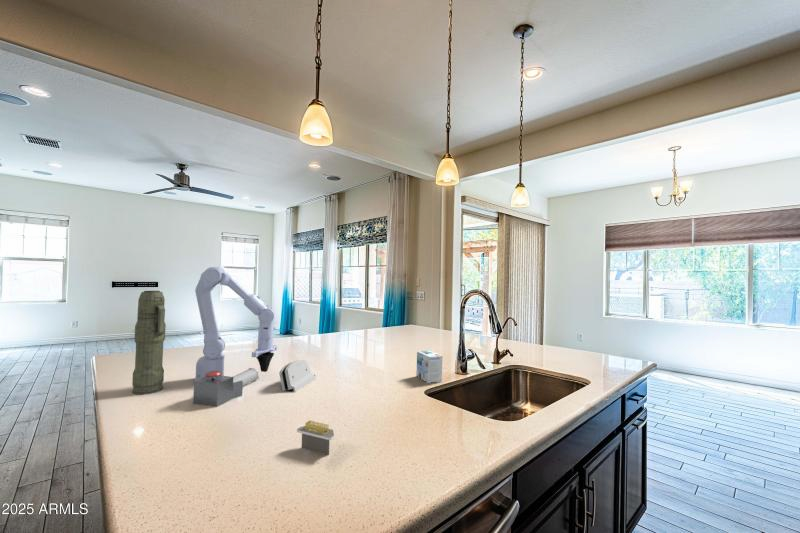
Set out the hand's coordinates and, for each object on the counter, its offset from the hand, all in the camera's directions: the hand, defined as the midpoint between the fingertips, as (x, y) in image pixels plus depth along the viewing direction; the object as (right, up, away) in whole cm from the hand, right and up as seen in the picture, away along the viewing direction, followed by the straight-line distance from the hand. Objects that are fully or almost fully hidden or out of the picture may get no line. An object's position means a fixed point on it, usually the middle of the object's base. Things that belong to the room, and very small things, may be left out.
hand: (264, 371), depth 141 cm
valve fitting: (-6, -2, -26) cm, 26 cm away
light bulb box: (+67, -4, +3) cm, 67 cm away
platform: (+35, -3, -57) cm, 67 cm away
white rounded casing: (+16, -3, -8) cm, 18 cm away
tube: (-5, -2, -17) cm, 18 cm away
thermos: (-34, -1, -19) cm, 39 cm away
